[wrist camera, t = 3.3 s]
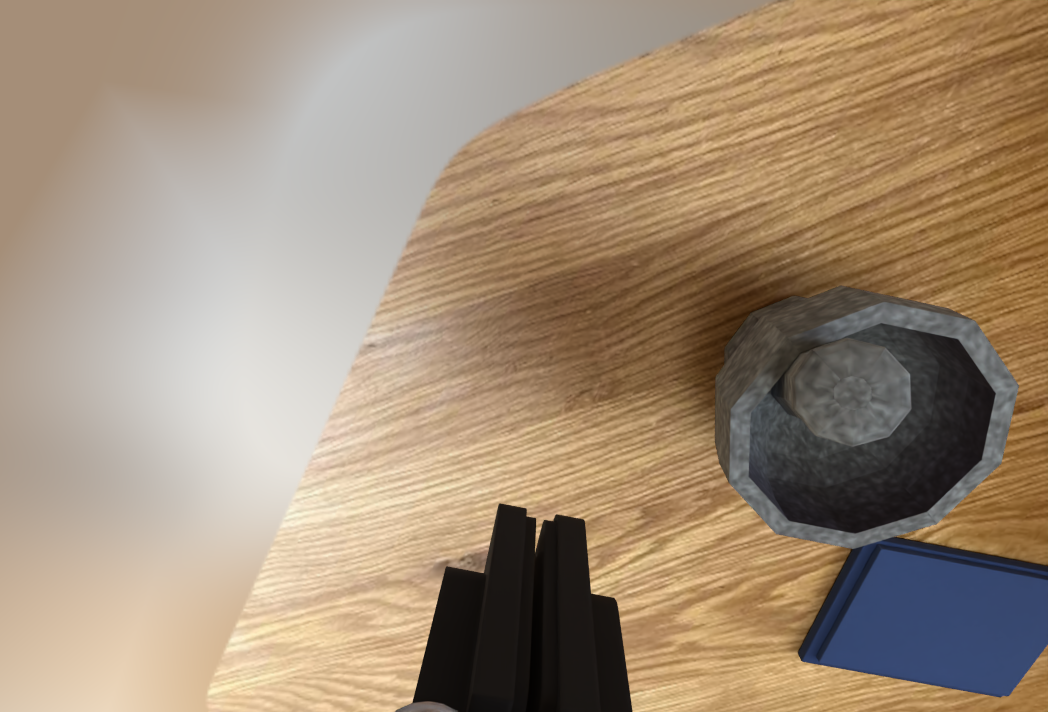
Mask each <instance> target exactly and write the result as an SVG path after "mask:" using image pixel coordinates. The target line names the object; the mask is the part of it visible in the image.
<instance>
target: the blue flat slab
mask: <svg viewBox="0 0 1048 712" xmlns="http://www.w3.org/2000/svg"><path fill="white" fill-rule="evenodd" d="M1047 645H1048V566H1043V565H1038V564H1032V563H1027V562H1022V561H1017V560H1011V559H1006V558H1001V557H996V556H990V555H985V554H980V553H974V552H969V551H964V550H959V549H953V548H948V547H943V546H937V545H932V544H927V543H922V542H916V541H911V540H906V539H901V538H895V537H891V538H888V539H885V540H881V541H878V542H875V543H871V544H868V545H865V546H861V547H858V548H855V549H853V550H852V551H851V553H850V555H849V557H848V559H847V561H846V563H845V565H844V567H843V568H842V570H841V572H840V574H839V576H838V578H837V580H836V582H835V584H834V586H833V587H832V589H831V591H830V593H829V595H828V597H827V599H826V601H825V603H824V604H823V606H822V608H821V610H820V612H819V614H818V616H817V618H816V620H815V622H814V623H813V625H812V627H811V629H810V631H809V633H808V635H807V637H806V639H805V641H804V642H803V644H802V646H801V648H800V650H799V652H798V654H799V657H800V659H801V661H802V662H807V663H813V664H818V665H824V666H830V667H835V668H841V669H846V670H852V671H857V672H863V673H868V674H874V675H879V676H885V677H891V678H896V679H902V680H907V681H913V682H918V683H924V684H929V685H935V686H940V687H946V688H952V689H957V690H963V691H968V692H974V693H979V694H985V695H990V696H996V697H1002V696H1009V695H1010V694H1011V692H1012V691H1013V690H1014V688H1015V687H1016V686H1017V684H1018V683H1019V682H1020V680H1021V679H1022V678H1023V677H1024V675H1025V674H1026V673H1027V671H1028V670H1029V669H1030V667H1031V666H1032V665H1033V663H1034V662H1035V661H1036V659H1037V658H1038V657H1039V655H1040V654H1041V653H1042V651H1043V650H1044V649H1045V647H1046V646H1047Z"/></svg>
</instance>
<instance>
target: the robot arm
mask: <svg viewBox="0 0 1048 712" xmlns="http://www.w3.org/2000/svg"><path fill="white" fill-rule="evenodd" d="M526 514H527V509H526V508H521V507H516V506H510V505H505V504H500V503H499V506H498V510H497V515H496V519H495V524H494V528H493V533H492V538H491V542H490V547H489V552H488V556H487V561H486V566H485V570H484V573H479V572H474V571H468V570H463V569H458V568H452V567H447V566H446V569H445V573H444V577H443V581H442V585H441V589H440V593H439V597H438V601H437V605H436V609H435V613H434V618H433V622H432V626H431V630H430V634H429V638H428V642H427V646H426V650H425V654H424V658H423V662H422V666H421V670H420V674H419V679H418V683H417V687H416V691H415V695H414V699H413V703H411V704H409V705H407V706H405V707H402V708H400V709H398V710H396V711H395V712H632V705H631V698H630V690H629V683H628V676H627V669H626V662H625V654H624V647H623V640H622V633H621V626H620V618H619V611H618V606H617V602H616V600H615V598H612V597H606V596H601V595H596V594H591V589H590V577H589V565H588V553H587V541H586V529H585V521H584V520H583V519H578V518H573V517H568V516H563V515H557V514H556V515H555V518H554V521H548V520H544V522H543V525H542V528H541V532H540V536H539V540H538V544H537V548H536V552H535V537H536V518H532V517H527V516H526Z"/></svg>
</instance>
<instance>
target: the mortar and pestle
mask: <svg viewBox="0 0 1048 712" xmlns="http://www.w3.org/2000/svg"><path fill="white" fill-rule="evenodd" d="M1018 388H1019V385H1018V384H1017V382H1016V381H1015V379H1014V378H1013V376H1012V375H1011V373H1010V372H1009V370H1008V369H1007V367H1006V366H1005V364H1004V363H1003V361H1002V360H1001V358H1000V357H999V355H998V354H997V352H996V351H995V350H994V348H993V347H992V345H991V344H990V342H989V341H988V339H987V338H986V336H985V335H984V333H983V332H982V330H981V329H980V327H979V326H978V324H977V323H976V321H974V320H972V319H970V318H968V317H966V316H963V315H961V314H959V313H957V312H955V311H953V310H951V309H948V308H944V307H939V306H935V305H930V304H926V303H921V302H917V301H912V300H907V299H902V298H898V297H893V296H888V295H883V294H879V293H874V292H869V291H864V290H860V289H855V288H850V287H846V286H838V287H836V288H833V289H831V290H828V291H825V292H823V293H820V294H818V295H815V296H813V297H810V298H803V297H799V296H792V297H790V298H787V299H785V300H782V301H779V302H777V303H774V304H772V305H769V306H767V307H764V308H762V309H759V310H757V311H754V312H751V314H750V315H749V316H748V317H747V319H746V320H745V321H744V323H743V324H742V325H741V327H740V328H739V329H738V331H737V332H736V333H735V335H734V336H733V337H732V338H731V340H730V341H729V342H728V344H727V345H726V346H725V359H724V366H723V367H722V369H721V370H720V371H719V373H718V374H717V375H716V377H715V444H716V449H717V454H718V459H719V463H720V465H721V467H722V469H723V471H724V473H725V475H726V478H727V480H728V482H729V483H730V484H731V485H732V487H733V488H734V489H735V490H736V491H737V492H738V493H739V494H740V495H741V496H742V497H743V498H744V500H745V501H746V502H747V503H748V504H749V505H750V506H751V507H752V508H753V509H754V510H755V511H756V513H757V514H758V515H759V516H760V517H761V518H762V519H763V520H764V521H765V522H766V523H767V524H768V526H769V527H770V528H771V529H772V530H773V531H774V532H775V533H776V534H779V535H784V536H789V537H794V538H799V539H804V540H810V541H815V542H820V543H825V544H830V545H835V546H841V547H846V548H851V549H855V548H858V547H861V546H865V545H868V544H871V543H875V542H878V541H881V540H885V539H888V538H891V537H895V536H898V535H901V534H905V533H908V532H911V531H915V530H918V529H921V528H925V527H928V526H931V525H935V524H937V523H938V522H939V521H940V520H942V519H943V518H944V517H945V516H946V515H947V514H948V513H949V512H950V511H951V510H952V509H953V508H954V507H955V506H956V505H958V504H959V503H960V502H961V501H962V500H963V499H964V498H965V497H966V496H967V495H968V494H969V493H970V492H971V491H972V490H974V489H975V488H976V487H977V486H978V485H979V484H980V483H981V482H982V481H983V480H984V479H985V478H986V477H987V476H988V475H990V474H991V473H992V472H993V471H994V470H995V469H996V468H997V467H998V466H999V465H1000V464H1001V462H1002V458H1003V453H1004V449H1005V444H1006V440H1007V436H1008V431H1009V427H1010V423H1011V418H1012V414H1013V409H1014V405H1015V401H1016V396H1017V392H1018Z"/></svg>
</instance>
